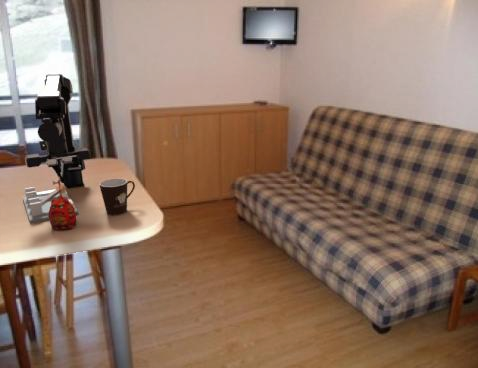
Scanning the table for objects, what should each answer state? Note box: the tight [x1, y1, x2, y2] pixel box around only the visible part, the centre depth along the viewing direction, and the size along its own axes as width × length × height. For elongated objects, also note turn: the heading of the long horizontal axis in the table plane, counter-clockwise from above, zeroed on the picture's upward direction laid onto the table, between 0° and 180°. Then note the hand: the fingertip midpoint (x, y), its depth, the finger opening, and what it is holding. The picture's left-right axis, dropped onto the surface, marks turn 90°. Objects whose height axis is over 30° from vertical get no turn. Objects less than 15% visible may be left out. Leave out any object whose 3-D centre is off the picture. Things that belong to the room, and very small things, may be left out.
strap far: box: [36, 188, 67, 197], centre depth 141 cm, size 11×4×1 cm, turn 122°
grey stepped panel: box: [22, 186, 79, 224], centre depth 136 cm, size 14×24×5 cm, turn 32°
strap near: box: [39, 183, 67, 206], centre depth 130 cm, size 11×4×1 cm
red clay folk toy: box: [48, 177, 78, 231], centre depth 119 cm, size 8×7×15 cm
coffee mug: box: [99, 177, 136, 216], centre depth 131 cm, size 12×9×10 cm
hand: (62, 182), depth 131 cm, fingers closed
